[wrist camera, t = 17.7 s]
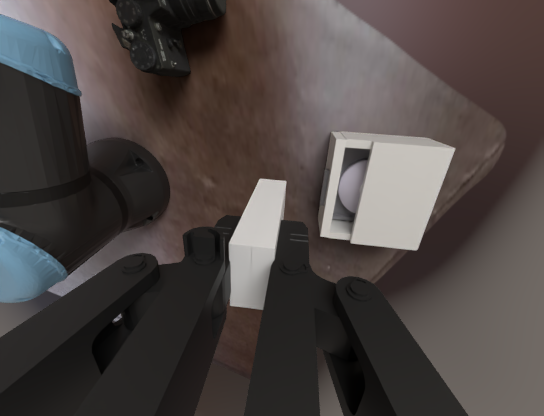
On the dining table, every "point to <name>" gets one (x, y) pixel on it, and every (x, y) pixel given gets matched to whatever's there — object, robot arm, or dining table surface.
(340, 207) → the tray
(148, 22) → the camera
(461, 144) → the dining table surface
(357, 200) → the lid
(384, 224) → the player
